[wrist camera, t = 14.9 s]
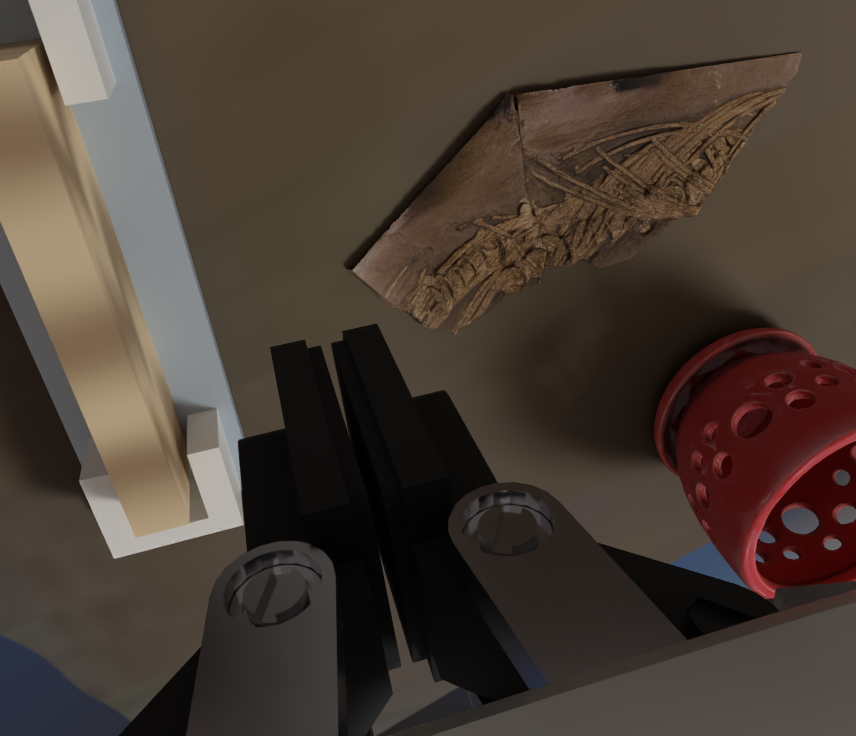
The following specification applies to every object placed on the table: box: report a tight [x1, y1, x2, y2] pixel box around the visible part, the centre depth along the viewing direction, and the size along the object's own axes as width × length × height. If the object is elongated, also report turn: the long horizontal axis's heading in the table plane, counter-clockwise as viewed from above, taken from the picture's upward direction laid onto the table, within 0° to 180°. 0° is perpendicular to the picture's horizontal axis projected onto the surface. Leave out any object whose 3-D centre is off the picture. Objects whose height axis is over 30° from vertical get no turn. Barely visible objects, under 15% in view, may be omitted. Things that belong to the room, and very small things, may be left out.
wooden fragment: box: [347, 52, 802, 335], centre depth 39 cm, size 26×11×1 cm, turn 109°
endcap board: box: [0, 0, 244, 559], centre depth 33 cm, size 27×8×4 cm, turn 6°
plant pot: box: [654, 328, 856, 599], centre depth 44 cm, size 13×13×12 cm
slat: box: [0, 38, 190, 538], centre depth 31 cm, size 20×2×6 cm, turn 6°
